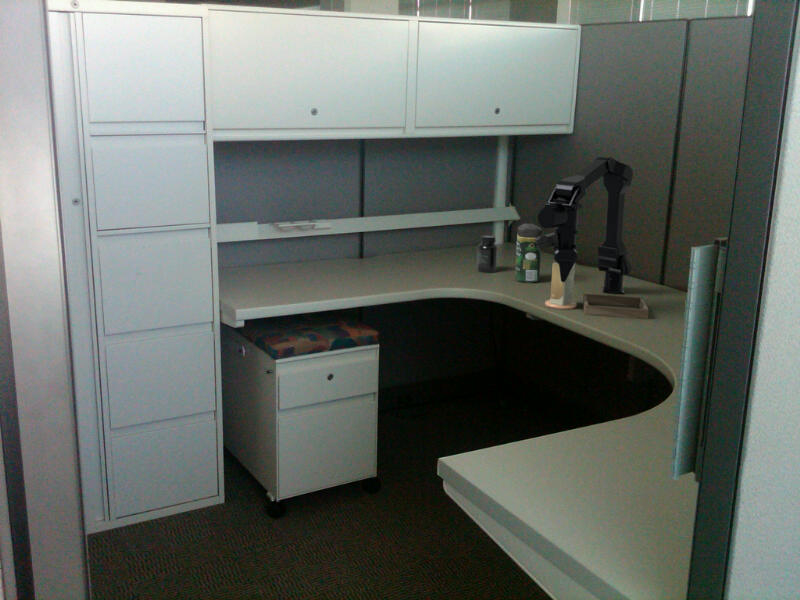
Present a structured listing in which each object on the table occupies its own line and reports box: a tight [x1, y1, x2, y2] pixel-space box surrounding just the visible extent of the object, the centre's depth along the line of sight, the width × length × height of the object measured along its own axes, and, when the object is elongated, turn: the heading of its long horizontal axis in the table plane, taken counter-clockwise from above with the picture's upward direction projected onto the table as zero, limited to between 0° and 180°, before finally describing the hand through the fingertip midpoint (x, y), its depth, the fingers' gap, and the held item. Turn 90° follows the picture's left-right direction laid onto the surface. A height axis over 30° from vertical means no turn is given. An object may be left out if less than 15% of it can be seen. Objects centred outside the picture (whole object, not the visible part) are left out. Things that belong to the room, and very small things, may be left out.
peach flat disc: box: [544, 299, 577, 311], centre depth 233 cm, size 9×9×1 cm
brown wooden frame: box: [582, 293, 649, 320], centre depth 229 cm, size 15×17×2 cm
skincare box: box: [549, 261, 576, 306], centre depth 231 cm, size 6×4×12 cm
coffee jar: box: [514, 223, 543, 284], centre depth 263 cm, size 10×8×19 cm
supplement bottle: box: [476, 235, 499, 274], centre depth 277 cm, size 7×7×12 cm
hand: (562, 278), depth 231 cm, fingers open, 8 cm apart
